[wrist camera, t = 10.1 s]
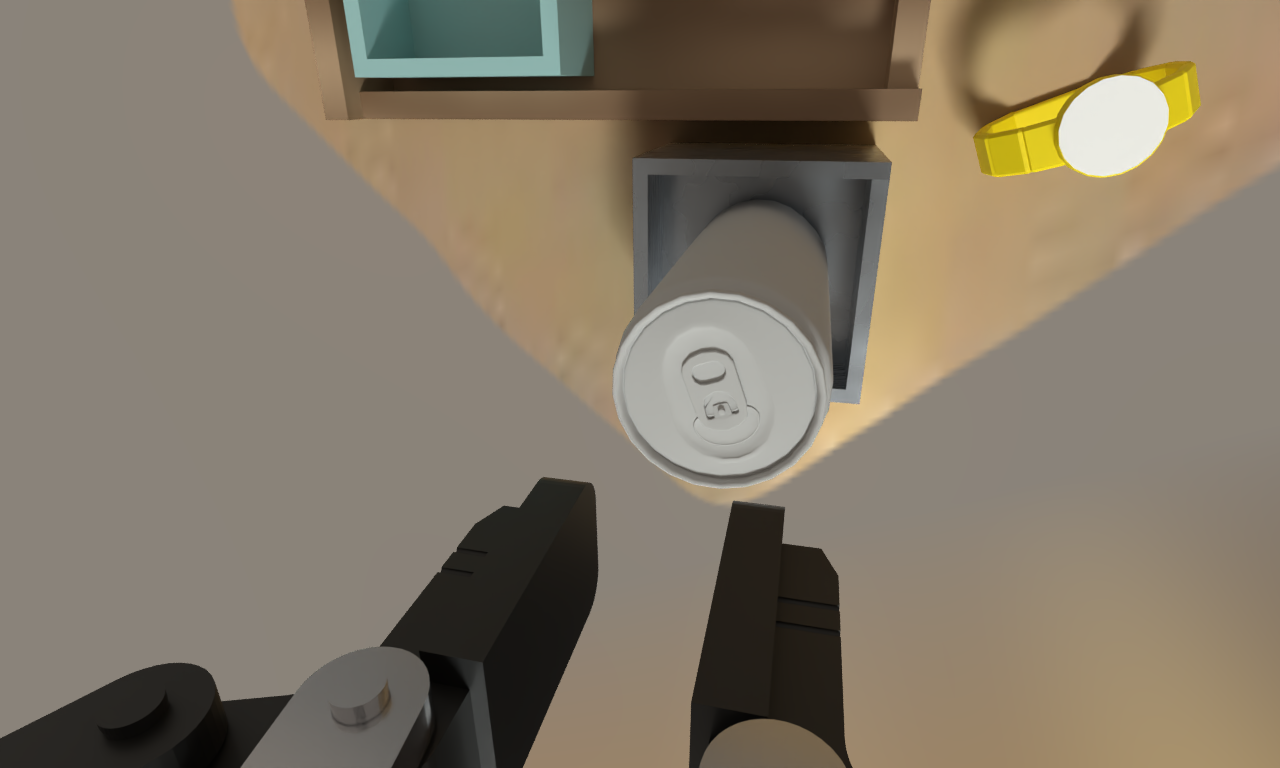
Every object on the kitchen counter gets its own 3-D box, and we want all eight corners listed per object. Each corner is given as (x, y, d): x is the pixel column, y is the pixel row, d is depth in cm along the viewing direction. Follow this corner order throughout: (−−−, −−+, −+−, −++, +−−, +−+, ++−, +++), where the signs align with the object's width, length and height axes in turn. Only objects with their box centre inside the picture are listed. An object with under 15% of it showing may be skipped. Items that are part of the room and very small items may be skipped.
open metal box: (671, 142, 28) (632, 158, 22) (875, 145, 26) (891, 162, 21) (668, 328, 31) (634, 384, 25) (851, 341, 30) (859, 403, 24)
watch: (977, 182, 26) (1001, 212, 21) (960, 110, 26) (980, 123, 20) (1163, 120, 24) (1242, 137, 19) (1151, 38, 23) (1230, 33, 18)
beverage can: (717, 340, 27) (649, 511, 16) (677, 221, 25) (572, 320, 15) (842, 307, 25) (859, 472, 14) (807, 177, 24) (797, 253, 13)
